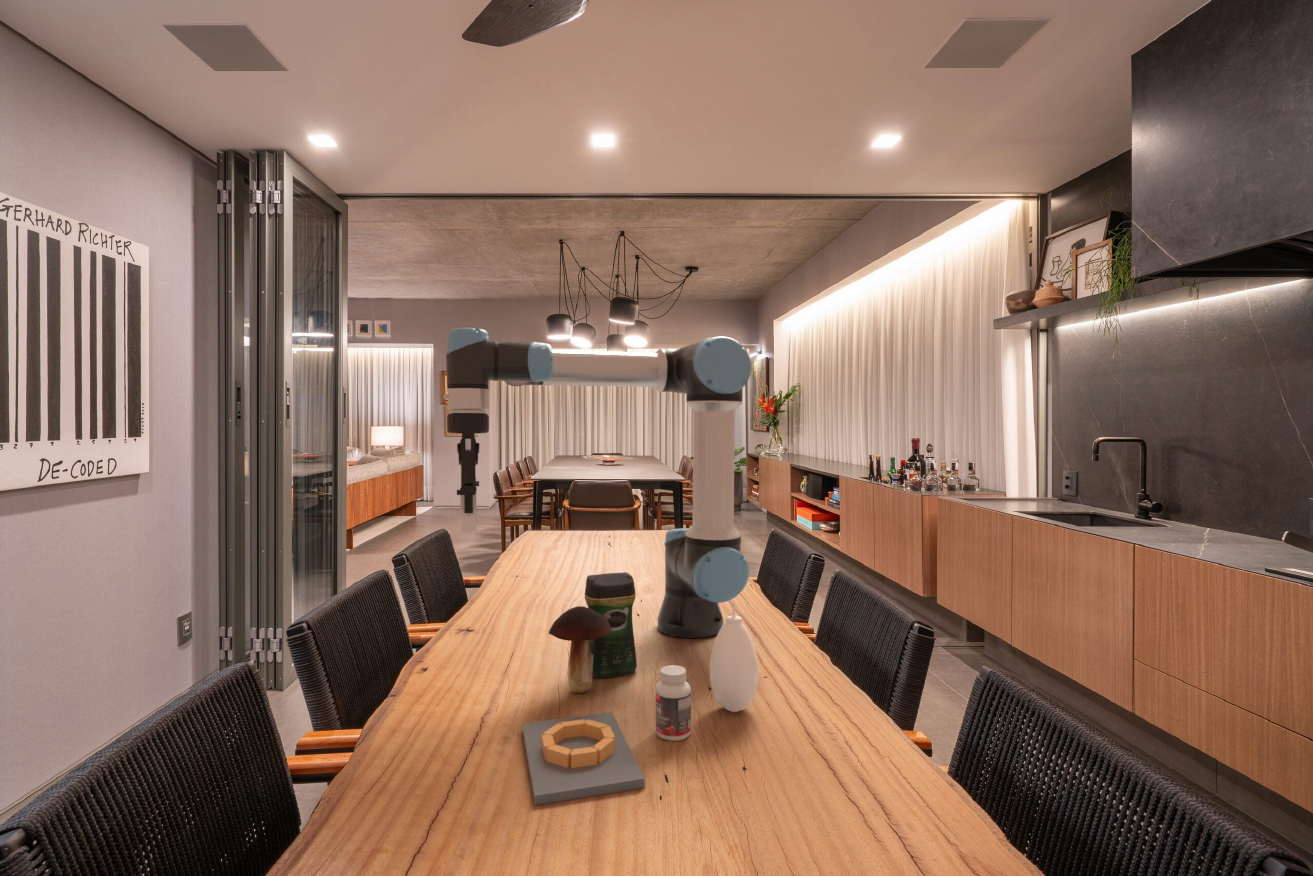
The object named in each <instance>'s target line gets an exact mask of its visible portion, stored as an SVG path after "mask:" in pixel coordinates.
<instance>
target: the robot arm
mask: <svg viewBox="0 0 1313 876" xmlns="http://www.w3.org/2000/svg"><path fill="white" fill-rule="evenodd" d="M445 352H446V353H445V354H446V355H445V356H446V357H445V360H446V389H447V391H446V392H447V393H445V394H444V395H443V399H444V400H447V403H446V404H447V405H446V409H447V410H448V411H450V413H448V414H447V415H446V428H447V429H446V431H447V433H449V434H461V439H460V440H459V441H460V442H459V443H457V445H456V448H457V449H456V450H457V451H456V452H457V454H458V465H460V489H456V495H457V496H460V533H461V532H462V533H465V532H477V531H478V529H477V528H478V526H477V523H478V522H477V514H478V513H477V508H478V507H477V490H478V489H477V487H480V480H477V477H476V475H477V474H476V465H478V464H479V453H480V442H477V439H476V437H475V434H487V433H489V430H490V415H489V414H488V413H487V411H489V410H490V389H489V386H490V385H489V382H490V381H493V382H498V381H499V382H505V384H507V385H509V386H510V387H511V386H512V387H522V386H575V387H577V386H578V387H585V386H586V387H629V388H630V387H633V388H634V387H636V388H637V387H639V388H640V387H641V388H643V387H644V388H647V387H648V388H655V390H656V391H658V392H659V393H660V392H665V393H666V392H667V393H676V394H685V396H686V399H685V400H686V401H685V402H686V404H687V405H688V406H689V408H691V410H692V411H693V432H692V433H693V437H692V442H693V443H692V449H693V450H692V457H693V458H692V525H691V527H688V528H687V527H684V528H683V527H682V528H671V529H669V530H667V531H666V533H665V541H664V543H663V545H664V549H665V550H664V557H665V558H664V560H665V561H664V567H665V568H664V573H665V574H664V577H665V578H664V581H665V583H664V584H665V585H664V587H665V588H664V589H665V590H664V591H665V592H664V597H663V600H662V602H661V607H660V609H659V613H658V616H657V629H658V631H659V632H661V634H664V635H667V636H670V637H675V638H683V639H702V638H708V637H713V636H717V635H718V633H719V631H720V629H721V627H722V626H723V625H724V616H723V613H722V610H721V608H720V604H723V603H726V602H729V601H732V600H734V599H735V598H737V597H738V596H739V595H740V593H742V591H743V590H745V587H746V586H747V583H748V581H749V575H750V566H749V563H748V561H747V559H746V557H745V555H744V554H743V553H742V534H741V533H740V531H739V530H737V528H735V526H734V525H735V524H734V522H735V521H734V520H735V519H734V518H735V516H734V515H735V511H734V510H735V507H734V506H735V433H736V431H735V429H736V428H735V427H736V425H735V424H736V423H735V420H736V419H735V418H736V417H735V416H736V415H735V414H736V411H737V410H738V408H740V406H741V405H742V404H743V395H744V394H743V390H744V389H743V388H744V387H745V386H746V384H747V383H748V382H749V379H750V377H751V374H752V361H751V357H750V355H749V352H748V351H747V349H746V348H745V347H744V346H743V345H742V344H741V343H740V342H739V341H738V340H736V339H734V338H731V337H728V336H720V335H719V336H709V337H706V338H705V339H704V338H703V340H701V341H698V342H695V343H692V344H688V345H685V346H681V347H676V348H675V347H674V348H658V350H656V352H632V351H631V352H628V351H627V352H626V351H593V350H592V351H590V350H562V349H561V350H558V349H557V350H555V349H553V347H552V346H551V344H549V343H548V342H538V341H500V340H499V341H497V340H494V339H493V340H492V339H491V340H490V337H489V333H488V331H487V330H485V329H482V328H474V327H456V328H452V329H450V330H449V332H447V335H446V351H445Z"/></svg>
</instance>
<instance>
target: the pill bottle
mask: <svg viewBox="0 0 1313 876" xmlns="http://www.w3.org/2000/svg"><path fill="white" fill-rule="evenodd" d="M686 669H687V668H685V667H684V666H680V665H676V664H672V665H671V664H670V665H666V666H662V667H661V668H660V670H659V679H660V681H659V682H658V683H657V685H656V686H655V734H656V735H657V737H659V738H660V739H663V740H665V741H673V742H674V741H675V742H677V741H683V740H685V739H686V738H687V739H688V737H690V736H691V732H692V687H691V685H690V684H689V682H688V681H687V670H686Z"/></svg>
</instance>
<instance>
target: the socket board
mask: <svg viewBox="0 0 1313 876" xmlns="http://www.w3.org/2000/svg"><path fill="white" fill-rule="evenodd" d="M615 717H616V716H615V715H614V713H613V712H612V711H610V712H609V711H608V712H603V713H601V712H600V713H595V714H586V715H579V716H578V715H577V716H572V717H571V716H569V717H564V718H563V717H562V718H556V719H555V718H554V719H547V720H546V719H545V720H539V721H532V722H524V723H521V727H522V728H521V729H522V730H521V732H522V736H523V737H522V738H523V743H524V748H525V749H524V750H525V755H526V761H527V765H528V772H529V778H530V785H531V789H532V790H531V791H532V795H533V802H534V806H539V805H546V804H552V803H560V802H564V801H571V800H577V799H583V798H588V797H589V798H590V797H595V796H602V795H607V794H608V795H609V794H614V793H615V794H616V793H621V792H626V791H632V790H633V791H634V790H638V789H639V790H640V789H645V788H646V787H645V786H646V785H645V781H646V779H645V776H644V774H643V772H642V770H641V769H640V766H639V764H638V763H637V760H636V758H635V756H634V754H633V751H632V750H631V748H630V746H629V744H628V742H627V739H626V738H625V736H624V734H623V732H622V730H621V727H620V725H619V723H618V722H617V720H616V718H615Z"/></svg>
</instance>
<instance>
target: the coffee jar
mask: <svg viewBox="0 0 1313 876" xmlns="http://www.w3.org/2000/svg"><path fill="white" fill-rule="evenodd" d="M584 589H585V590H584V601H585V603H586V605H587V608H589V609H592V610H594V611H596V612H598V613H599V614H601V615H602V616H604V617H605V618H606V619H607V621H608V623H609V625H610V626H611V629H612V631H611V633H610V634H609V635H606V636H604V637H601V638H598V639H593V640H589V646H590V652H591V658H592V677H595V678H610V677H620V676H624V675H629V674H630V675H631V674H632V673H634V672H635V671H636V669H637V665H638V664H637V663H638V662H637V661H638V660H637V652H636V643H635V634H634V625H633V605H634V603H635V600H636V597H637V596H636V595H637V592H636V587H635V581H634V578H633V576H632V574H630V573H629V572H627V571H624V572H612V573H609V572H608V573H599V574H590V575H587V577H586V580H585V587H584Z"/></svg>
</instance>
